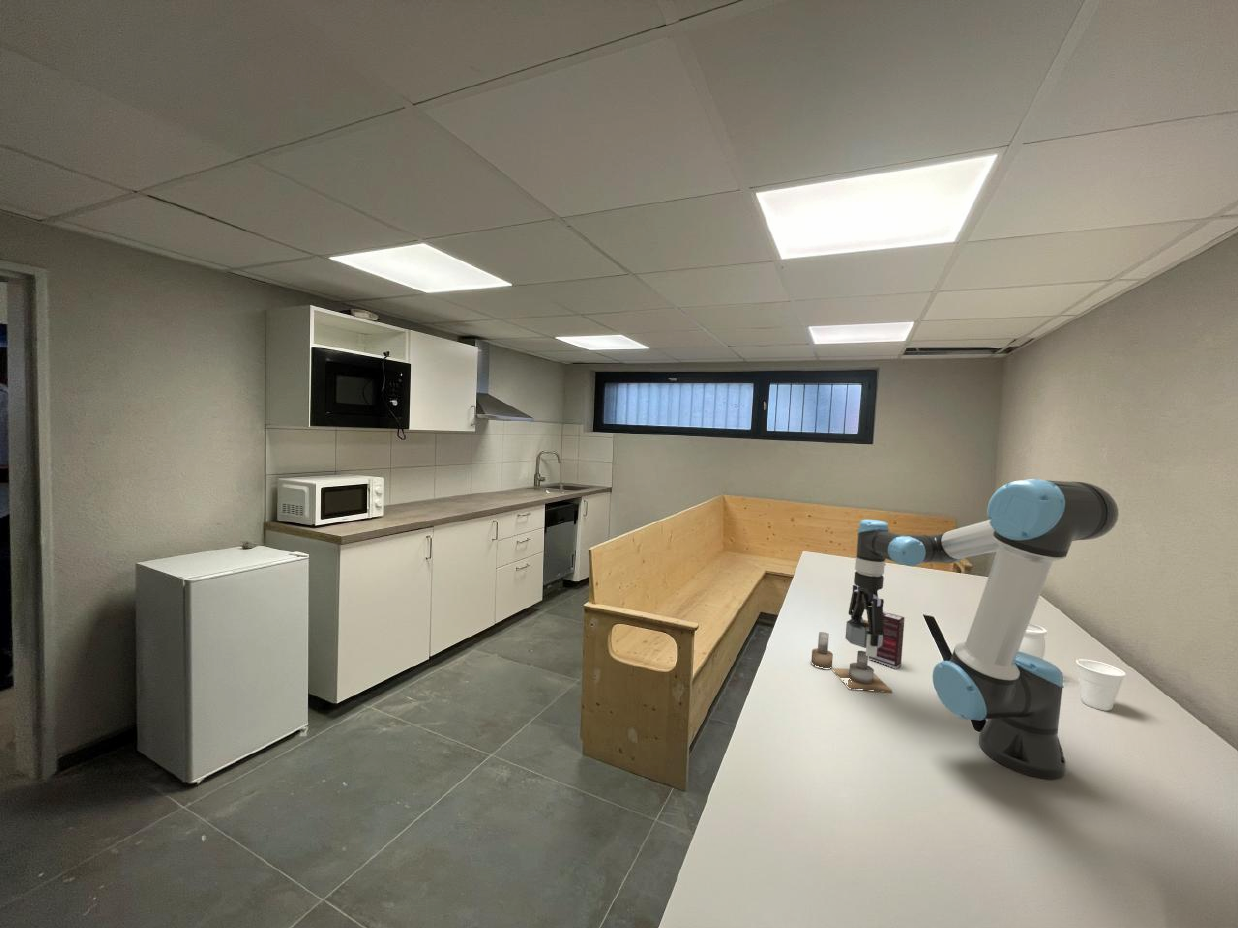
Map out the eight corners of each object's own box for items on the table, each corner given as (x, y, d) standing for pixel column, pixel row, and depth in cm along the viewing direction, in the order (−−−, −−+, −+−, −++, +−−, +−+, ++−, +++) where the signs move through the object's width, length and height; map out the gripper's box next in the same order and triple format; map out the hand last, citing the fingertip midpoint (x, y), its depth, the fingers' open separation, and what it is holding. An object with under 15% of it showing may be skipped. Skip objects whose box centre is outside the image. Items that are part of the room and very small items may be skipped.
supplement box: (901, 665, 154) (905, 616, 154) (896, 669, 151) (900, 620, 150) (872, 655, 161) (876, 608, 160) (867, 659, 158) (871, 611, 157)
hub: (892, 692, 136) (894, 663, 136) (849, 689, 137) (851, 660, 136) (871, 672, 148) (873, 645, 148) (831, 669, 149) (833, 642, 148)
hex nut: (887, 649, 137) (888, 632, 137) (855, 647, 138) (856, 629, 137) (871, 636, 146) (872, 620, 146) (841, 634, 147) (842, 618, 146)
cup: (1132, 717, 130) (1136, 677, 129) (1089, 711, 132) (1093, 672, 131) (1103, 699, 139) (1107, 661, 139) (1063, 693, 141) (1067, 656, 141)
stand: (835, 670, 149) (837, 638, 148) (815, 668, 149) (817, 636, 148) (827, 661, 155) (829, 630, 154) (808, 660, 155) (810, 629, 154)
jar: (1026, 666, 159) (1030, 621, 159) (1051, 681, 149) (1055, 633, 148) (991, 662, 160) (996, 618, 160) (1014, 677, 150) (1018, 630, 149)
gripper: (903, 585, 130) (895, 666, 131) (864, 564, 152) (858, 634, 153) (874, 583, 130) (867, 664, 131) (840, 562, 152) (834, 632, 153)
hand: (862, 648), depth 142 cm, fingers closed on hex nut, 9 cm apart
